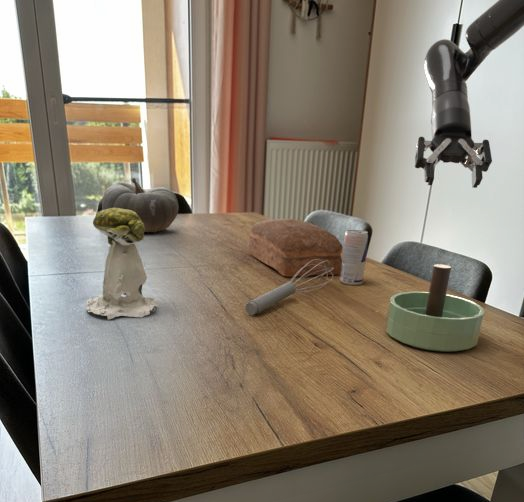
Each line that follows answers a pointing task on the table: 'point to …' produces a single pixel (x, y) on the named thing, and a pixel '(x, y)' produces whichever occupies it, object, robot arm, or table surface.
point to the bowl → (434, 322)
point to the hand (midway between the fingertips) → (453, 183)
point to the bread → (295, 247)
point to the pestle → (438, 290)
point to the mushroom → (121, 266)
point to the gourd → (143, 204)
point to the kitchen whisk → (279, 293)
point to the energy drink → (354, 257)
